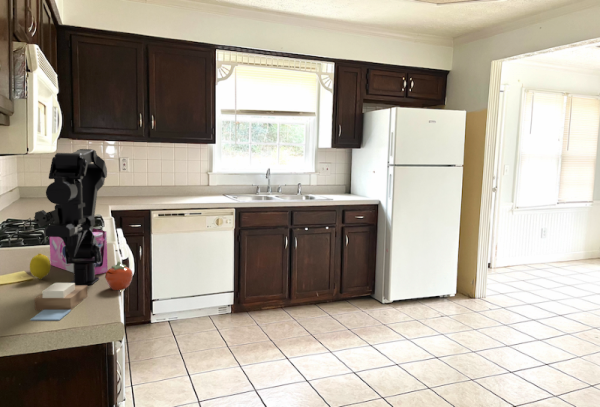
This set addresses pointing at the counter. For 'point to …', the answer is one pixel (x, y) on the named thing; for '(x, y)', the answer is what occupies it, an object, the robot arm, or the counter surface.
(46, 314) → the mat
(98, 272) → the gum box
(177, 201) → the counter surface
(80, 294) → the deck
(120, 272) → the tomato
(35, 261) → the lemon
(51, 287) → the white rectangular block
